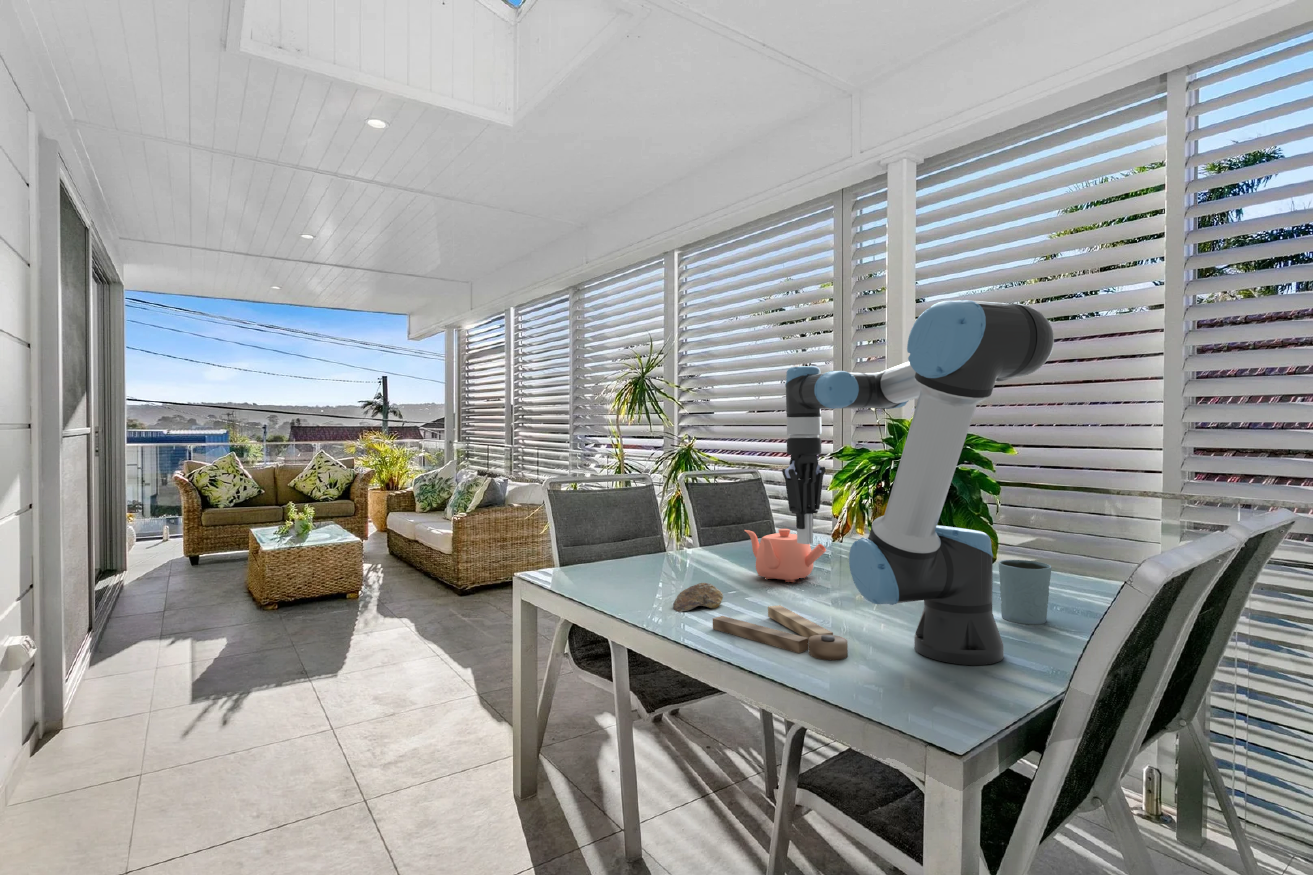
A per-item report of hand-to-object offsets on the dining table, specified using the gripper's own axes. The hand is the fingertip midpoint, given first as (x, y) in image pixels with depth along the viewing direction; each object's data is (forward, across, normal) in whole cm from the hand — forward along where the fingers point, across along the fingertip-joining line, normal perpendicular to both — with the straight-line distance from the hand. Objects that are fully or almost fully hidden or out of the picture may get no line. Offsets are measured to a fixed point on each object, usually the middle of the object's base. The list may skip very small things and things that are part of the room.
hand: (805, 542), depth 153 cm
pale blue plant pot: (+17, -32, +34) cm, 50 cm away
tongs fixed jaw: (+16, +18, +7) cm, 25 cm away
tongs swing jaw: (+16, +10, +5) cm, 20 cm away
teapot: (+17, -28, -28) cm, 43 cm away
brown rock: (+17, +11, -24) cm, 31 cm away
